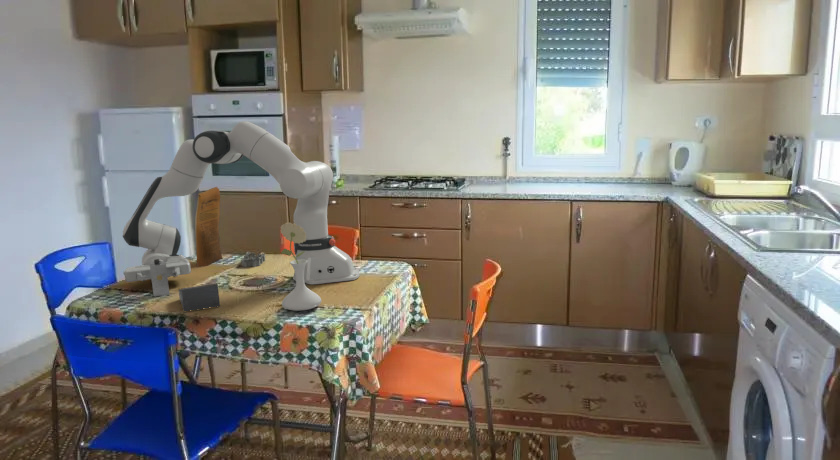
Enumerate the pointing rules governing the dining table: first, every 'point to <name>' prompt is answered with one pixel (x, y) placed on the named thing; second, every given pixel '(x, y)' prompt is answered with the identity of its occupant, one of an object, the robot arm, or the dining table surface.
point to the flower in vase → (298, 273)
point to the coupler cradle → (199, 297)
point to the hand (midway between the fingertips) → (159, 276)
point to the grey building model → (252, 259)
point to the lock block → (159, 278)
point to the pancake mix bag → (208, 227)
